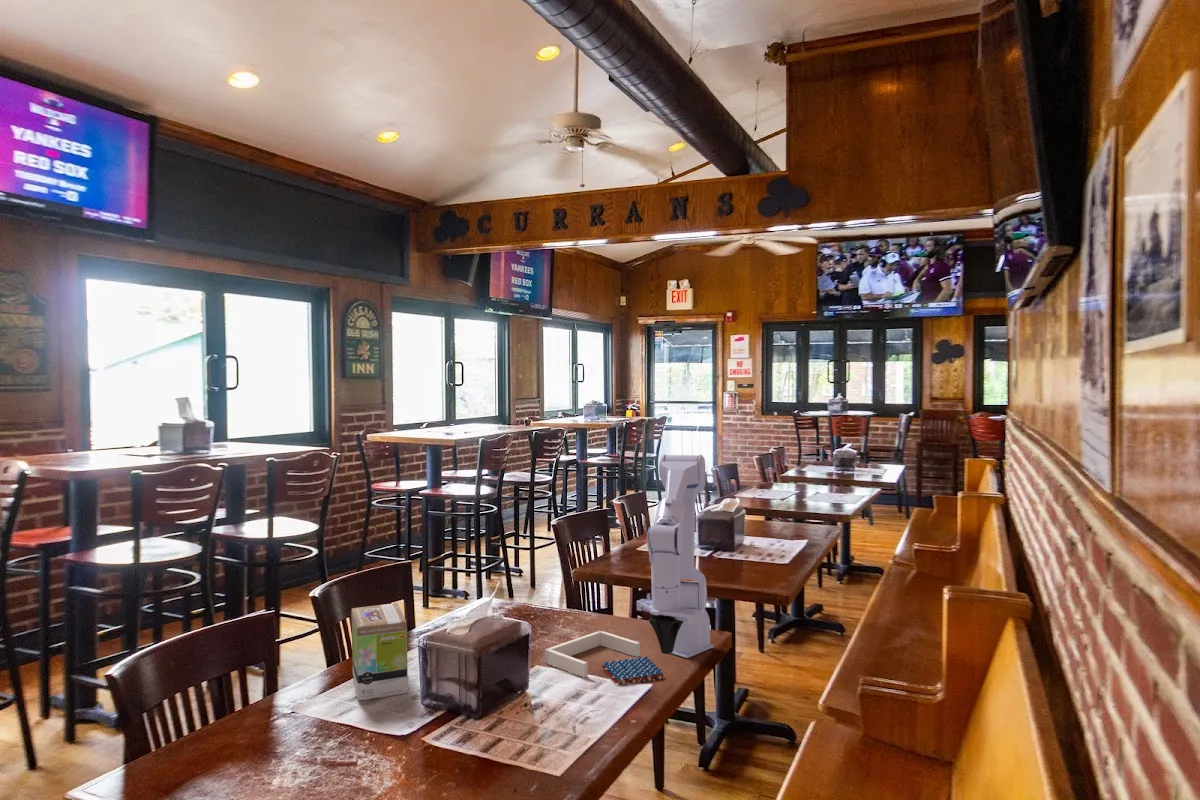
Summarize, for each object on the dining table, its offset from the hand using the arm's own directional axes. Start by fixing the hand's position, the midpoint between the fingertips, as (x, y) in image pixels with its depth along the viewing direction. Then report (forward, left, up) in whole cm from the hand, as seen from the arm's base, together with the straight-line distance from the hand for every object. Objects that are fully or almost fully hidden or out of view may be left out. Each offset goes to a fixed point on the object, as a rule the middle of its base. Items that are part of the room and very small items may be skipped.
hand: (667, 652), depth 155 cm
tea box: (+39, -45, -7) cm, 60 cm away
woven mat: (0, -10, -8) cm, 13 cm away
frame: (0, -22, -7) cm, 23 cm away
